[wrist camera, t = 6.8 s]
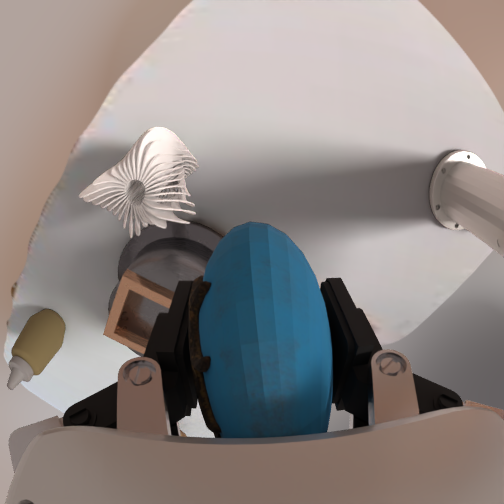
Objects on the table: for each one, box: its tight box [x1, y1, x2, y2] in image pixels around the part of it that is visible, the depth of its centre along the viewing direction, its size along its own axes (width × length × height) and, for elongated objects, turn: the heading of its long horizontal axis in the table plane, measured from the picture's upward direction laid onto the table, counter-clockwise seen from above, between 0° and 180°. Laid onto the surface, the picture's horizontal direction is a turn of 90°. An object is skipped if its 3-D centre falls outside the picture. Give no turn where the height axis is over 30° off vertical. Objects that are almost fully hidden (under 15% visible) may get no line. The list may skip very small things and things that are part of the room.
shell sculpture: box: [79, 127, 199, 238], centre depth 28 cm, size 8×8×18 cm
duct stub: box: [103, 220, 223, 357], centre depth 38 cm, size 19×19×12 cm
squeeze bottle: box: [7, 309, 65, 390], centre depth 39 cm, size 8×8×18 cm
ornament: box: [188, 222, 333, 438], centre depth 9 cm, size 8×5×10 cm, turn 9°
